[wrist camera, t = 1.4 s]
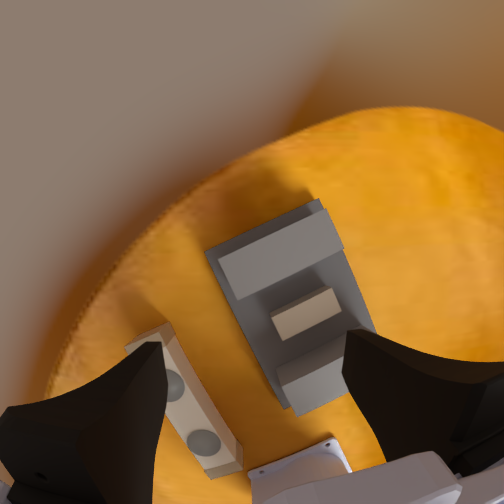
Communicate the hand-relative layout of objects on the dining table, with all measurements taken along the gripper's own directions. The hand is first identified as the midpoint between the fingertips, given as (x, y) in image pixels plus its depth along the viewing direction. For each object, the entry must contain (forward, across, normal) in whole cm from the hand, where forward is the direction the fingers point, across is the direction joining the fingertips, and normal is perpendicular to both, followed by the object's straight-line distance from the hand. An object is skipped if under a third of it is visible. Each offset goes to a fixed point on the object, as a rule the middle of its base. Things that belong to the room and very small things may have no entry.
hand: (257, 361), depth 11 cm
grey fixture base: (+14, -5, +4) cm, 15 cm away
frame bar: (+12, +4, +12) cm, 18 cm away
